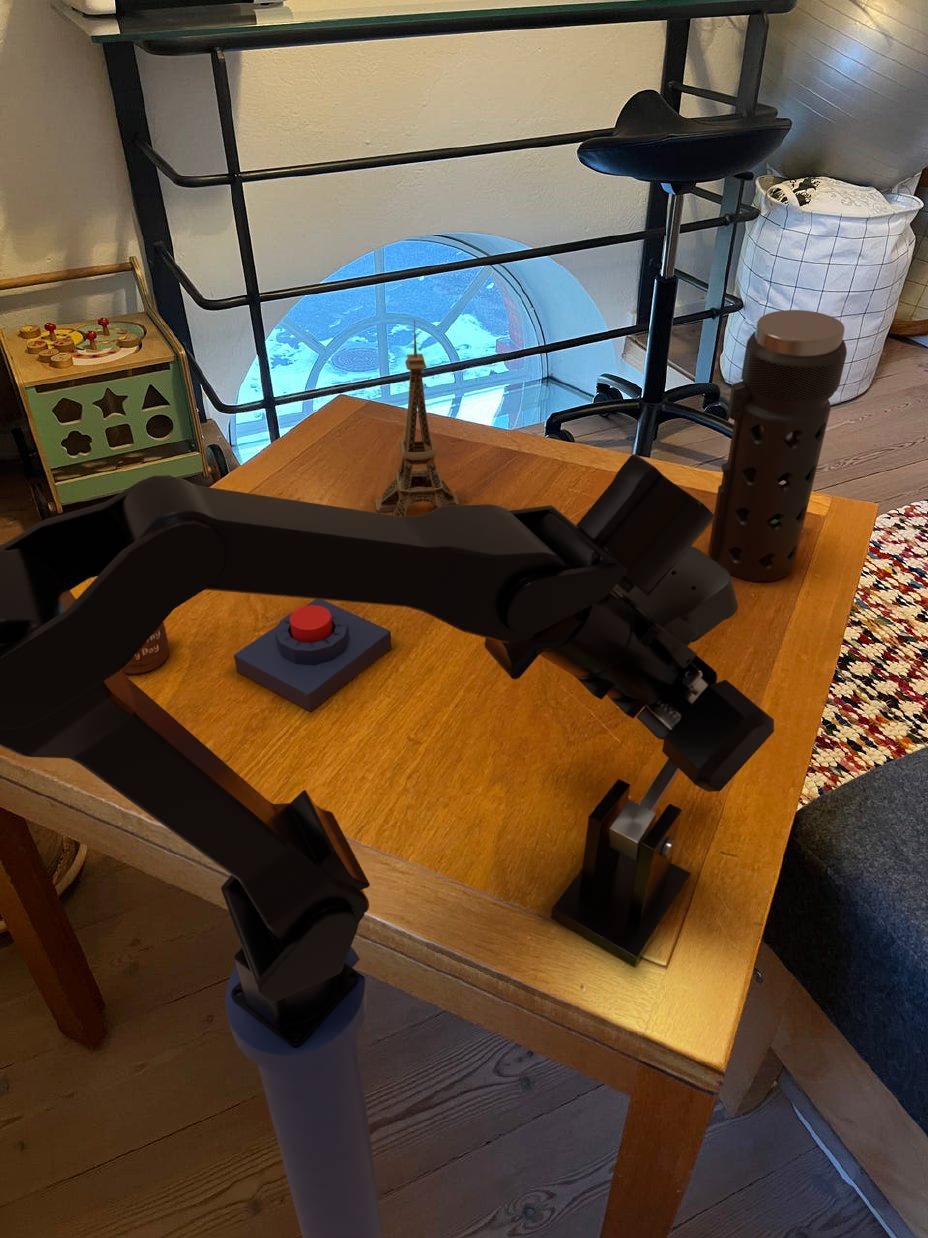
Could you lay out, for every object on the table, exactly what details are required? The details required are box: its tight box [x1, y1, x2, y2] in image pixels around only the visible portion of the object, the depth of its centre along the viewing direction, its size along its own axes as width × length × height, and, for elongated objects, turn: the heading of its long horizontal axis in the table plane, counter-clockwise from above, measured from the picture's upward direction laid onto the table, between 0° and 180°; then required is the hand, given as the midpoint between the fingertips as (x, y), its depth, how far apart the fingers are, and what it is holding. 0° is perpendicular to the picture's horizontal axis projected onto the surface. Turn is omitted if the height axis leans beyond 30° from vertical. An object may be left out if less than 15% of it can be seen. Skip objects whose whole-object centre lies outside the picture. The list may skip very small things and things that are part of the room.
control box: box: [233, 599, 392, 712], centre depth 91 cm, size 12×10×4 cm
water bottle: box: [707, 309, 848, 582], centre depth 98 cm, size 10×28×10 cm
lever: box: [609, 757, 682, 861], centre depth 67 cm, size 14×4×4 cm, turn 144°
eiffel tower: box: [374, 319, 460, 516], centre depth 107 cm, size 11×11×25 cm
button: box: [290, 604, 332, 643], centre depth 89 cm, size 4×4×2 cm
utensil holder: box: [84, 577, 170, 675], centre depth 89 cm, size 6×6×12 cm
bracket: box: [550, 778, 692, 968], centre depth 66 cm, size 9×7×10 cm
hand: (701, 707), depth 69 cm, fingers closed, pressing on lever
